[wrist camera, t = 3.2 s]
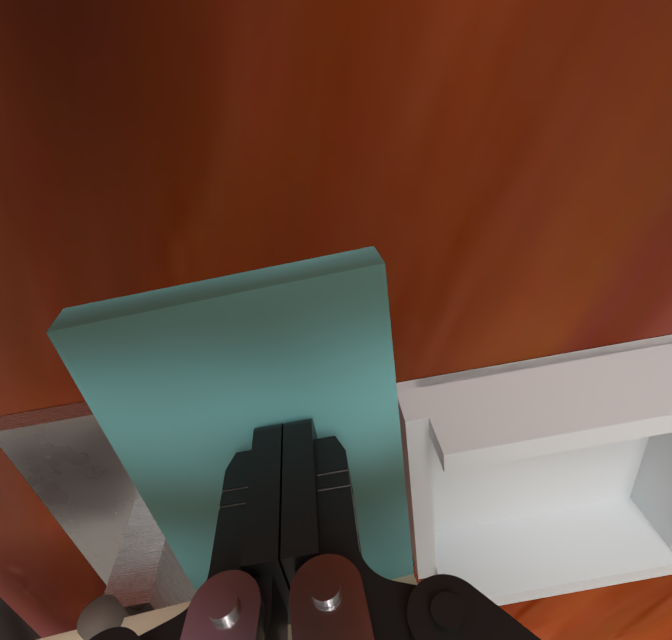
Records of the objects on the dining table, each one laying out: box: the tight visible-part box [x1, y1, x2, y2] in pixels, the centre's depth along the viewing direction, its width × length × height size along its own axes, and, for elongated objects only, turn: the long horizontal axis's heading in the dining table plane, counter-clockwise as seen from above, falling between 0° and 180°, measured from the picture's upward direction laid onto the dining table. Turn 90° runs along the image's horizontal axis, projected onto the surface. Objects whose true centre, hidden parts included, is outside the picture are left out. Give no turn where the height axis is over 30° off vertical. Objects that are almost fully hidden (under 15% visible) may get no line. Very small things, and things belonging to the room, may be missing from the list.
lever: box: [0, 246, 417, 640], centre depth 14 cm, size 20×22×6 cm
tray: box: [396, 335, 672, 606], centre depth 22 cm, size 12×14×4 cm
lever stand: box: [0, 402, 196, 616], centre depth 21 cm, size 16×10×6 cm, turn 8°
